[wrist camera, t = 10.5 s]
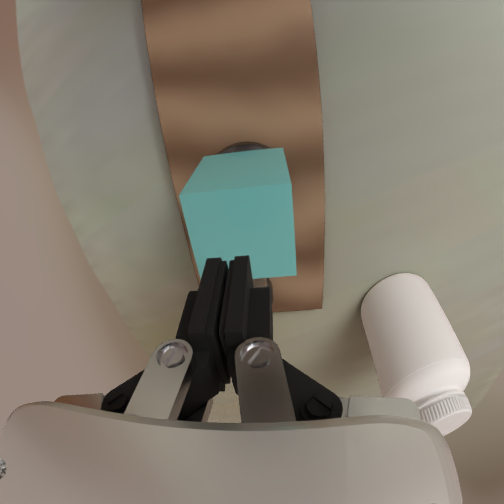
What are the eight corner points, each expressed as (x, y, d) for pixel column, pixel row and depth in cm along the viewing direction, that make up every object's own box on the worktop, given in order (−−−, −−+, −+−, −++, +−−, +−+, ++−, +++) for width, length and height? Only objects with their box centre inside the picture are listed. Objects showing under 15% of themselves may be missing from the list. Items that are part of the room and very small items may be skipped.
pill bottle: (432, 262, 26) (501, 388, 14) (422, 318, 30) (466, 431, 18) (358, 278, 27) (402, 425, 15) (358, 333, 32) (386, 458, 19)
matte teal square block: (203, 156, 19) (179, 195, 14) (282, 147, 19) (291, 183, 13) (217, 224, 22) (201, 282, 17) (288, 218, 22) (296, 275, 16)
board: (143, -20, 14) (138, -23, 13) (300, -44, 12) (301, -49, 12) (209, 308, 30) (207, 315, 29) (320, 301, 29) (322, 308, 28)
